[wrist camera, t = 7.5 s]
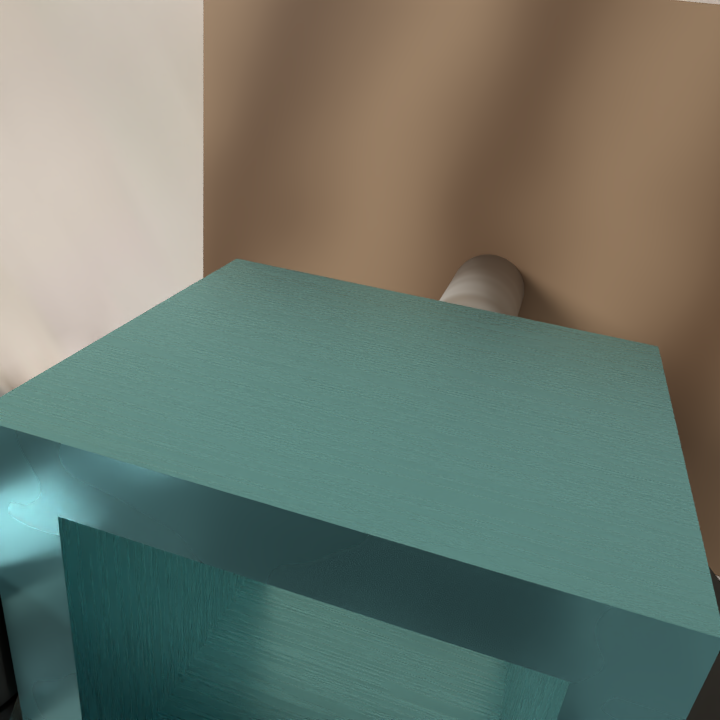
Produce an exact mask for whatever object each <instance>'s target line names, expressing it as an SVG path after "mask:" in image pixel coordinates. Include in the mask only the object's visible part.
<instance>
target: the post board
mask: <svg viewBox="0 0 720 720" xmlns="http://www.w3.org/2000/svg"><path fill="white" fill-rule="evenodd" d="M237 258H238V259H242V260H247V261H252V262H257V263H262V264H266V265H271V266H276V267H281V268H286V269H290V270H295V271H300V272H305V273H309V274H314V275H319V276H324V277H329V278H333V279H338V280H343V281H348V282H353V283H357V284H362V285H367V286H372V287H377V288H381V289H386V290H391V291H396V292H400V293H405V294H410V295H415V296H420V297H424V298H429V299H434V300H439V301H444V302H448V303H453V304H458V305H463V306H467V307H472V308H477V309H482V310H487V311H491V312H496V313H501V314H506V315H511V316H515V317H520V318H525V319H530V320H534V321H539V322H544V323H549V324H554V325H558V326H563V327H568V328H573V329H578V330H582V331H587V332H592V333H597V334H602V335H606V336H611V337H616V338H621V339H625V340H630V341H635V342H640V343H645V344H649V345H654V346H658V347H659V352H660V356H661V360H662V365H663V369H664V374H665V378H666V382H667V387H668V391H669V395H670V400H671V404H672V409H673V413H674V417H675V422H676V426H677V430H678V435H679V439H680V444H681V448H682V452H683V457H684V461H685V465H686V470H687V474H688V479H689V483H690V487H691V492H692V496H693V500H694V505H695V509H696V514H697V518H698V522H699V527H700V531H701V535H702V540H703V544H704V549H705V553H706V557H707V562H708V566H709V567H710V568H711V570H712V571H713V572H714V574H715V575H717V576H720V5H718V4H708V3H697V2H687V1H677V0H204V187H203V278H204V277H206V276H208V275H210V274H211V273H213V272H215V271H216V270H218V269H220V268H221V267H223V266H225V265H227V264H228V263H230V262H232V261H233V260H235V259H237Z"/></svg>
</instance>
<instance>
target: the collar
mask: <svg viewBox="0 0 720 720" xmlns="http://www.w3.org/2000/svg"><path fill="white" fill-rule="evenodd" d="M0 595H1V600H2V606H3V612H4V617H5V623H6V628H7V634H8V639H9V645H10V651H11V656H12V662H13V667H14V673H15V678H16V684H17V690H18V695H19V701H20V706H21V712H22V717H23V720H686V718H687V716H688V714H689V712H690V710H691V708H692V706H693V704H694V702H695V700H696V698H697V696H698V694H699V692H700V690H701V688H702V686H703V684H704V682H705V680H706V678H707V676H708V673H709V671H710V669H711V667H712V665H713V663H714V661H715V659H716V657H717V655H718V653H719V651H720V614H719V610H718V605H717V601H716V597H715V592H714V588H713V584H712V579H711V575H710V570H709V566H708V562H707V557H706V553H705V549H704V544H703V540H702V535H701V531H700V527H699V522H698V518H697V514H696V509H695V505H694V500H693V496H692V492H691V487H690V483H689V479H688V474H687V470H686V465H685V461H684V457H683V452H682V448H681V444H680V439H679V435H678V430H677V426H676V422H675V417H674V413H673V409H672V404H671V400H670V395H669V391H668V387H667V382H666V378H665V374H664V369H663V365H662V360H661V356H660V352H659V347H658V346H654V345H649V344H645V343H640V342H635V341H630V340H625V339H621V338H616V337H611V336H606V335H602V334H597V333H592V332H587V331H582V330H578V329H573V328H568V327H563V326H558V325H554V324H549V323H544V322H539V321H534V320H530V319H525V318H520V317H515V316H511V315H506V314H501V313H496V312H491V311H487V310H482V309H477V308H472V307H467V306H463V305H458V304H453V303H448V302H444V301H439V300H434V299H429V298H424V297H420V296H415V295H410V294H405V293H400V292H396V291H391V290H386V289H381V288H377V287H372V286H367V285H362V284H357V283H353V282H348V281H343V280H338V279H333V278H329V277H324V276H319V275H314V274H309V273H305V272H300V271H295V270H290V269H286V268H281V267H276V266H271V265H266V264H262V263H257V262H252V261H247V260H242V259H238V258H237V259H235V260H233V261H232V262H230V263H228V264H227V265H225V266H223V267H221V268H220V269H218V270H216V271H215V272H213V273H211V274H210V275H208V276H206V277H204V278H203V279H201V280H199V281H198V282H196V283H194V284H192V285H191V286H189V287H187V288H186V289H184V290H182V291H181V292H179V293H177V294H175V295H174V296H172V297H170V298H169V299H167V300H165V301H164V302H162V303H160V304H158V305H157V306H155V307H153V308H152V309H150V310H148V311H146V312H145V313H143V314H141V315H140V316H138V317H136V318H135V319H133V320H131V321H129V322H128V323H126V324H124V325H123V326H121V327H119V328H118V329H116V330H114V331H112V332H111V333H109V334H107V335H106V336H104V337H102V338H100V339H99V340H97V341H95V342H94V343H92V344H90V345H89V346H87V347H85V348H83V349H82V350H80V351H78V352H77V353H75V354H73V355H72V356H70V357H68V358H66V359H65V360H63V361H61V362H60V363H58V364H56V365H54V366H53V367H51V368H49V369H48V370H46V371H44V372H43V373H41V374H39V375H37V376H36V377H34V378H32V379H31V380H29V381H27V382H25V383H24V384H22V385H20V386H19V387H17V388H15V389H14V390H12V391H10V392H8V393H7V394H5V395H3V396H2V397H0Z"/></svg>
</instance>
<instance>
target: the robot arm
mask: <svg viewBox="0 0 720 720" xmlns="http://www.w3.org/2000/svg"><path fill="white" fill-rule="evenodd" d="M709 570H710V575H711V579H712V584H713V588H714V592H715V597H716V601H717V605H718V610H719V614H720V580H719V579H718V578H717V576H716V575H715V574H714V572H713V571H712V570H711V568H710V567H709ZM0 720H23V717H22V712H21V706H20V701H19V695H18V690H17V684H16V678H15V673H14V667H13V662H12V656H11V651H10V645H9V639H8V634H7V628H6V623H5V617H4V612H3V606H2V600H1V595H0ZM686 720H720V651H719V653H718V655H717V657H716V659H715V661H714V663H713V665H712V667H711V669H710V671H709V673H708V676H707V678H706V680H705V682H704V684H703V686H702V688H701V690H700V692H699V694H698V696H697V698H696V700H695V702H694V704H693V706H692V708H691V710H690V712H689V714H688V716H687V718H686Z"/></svg>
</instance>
